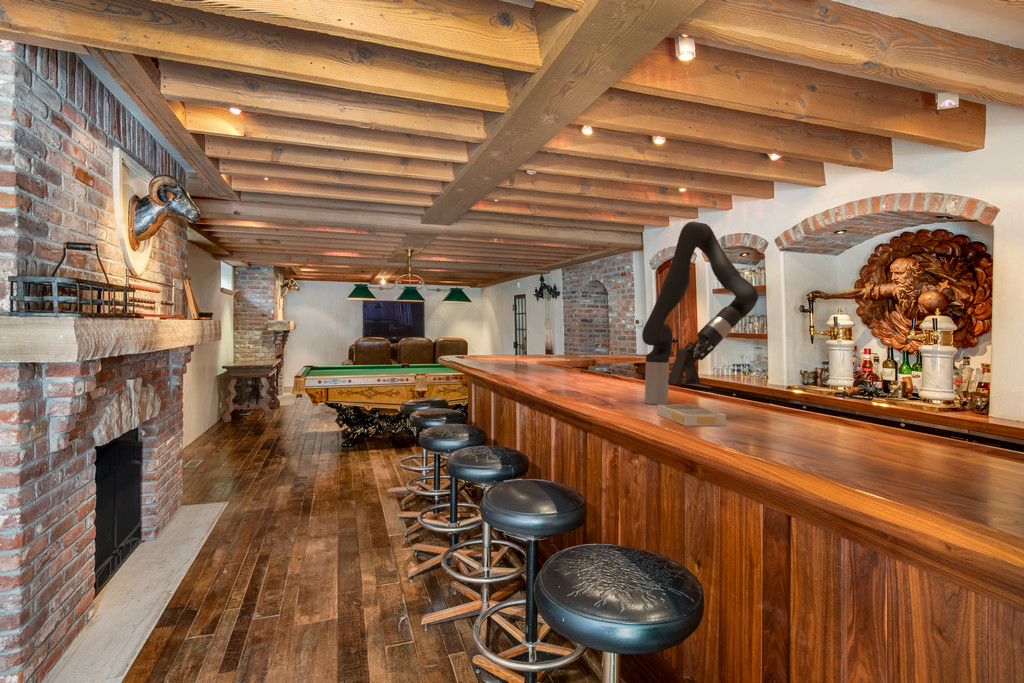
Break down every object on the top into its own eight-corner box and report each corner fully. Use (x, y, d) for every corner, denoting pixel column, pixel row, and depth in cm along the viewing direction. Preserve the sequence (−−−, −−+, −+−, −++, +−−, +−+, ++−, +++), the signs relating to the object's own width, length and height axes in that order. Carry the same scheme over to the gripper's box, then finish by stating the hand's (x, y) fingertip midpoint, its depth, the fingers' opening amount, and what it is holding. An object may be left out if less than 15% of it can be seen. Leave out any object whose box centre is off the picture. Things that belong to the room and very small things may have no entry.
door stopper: (691, 382, 173) (691, 348, 172) (700, 384, 167) (701, 349, 167) (667, 382, 171) (668, 348, 171) (676, 384, 165) (677, 349, 165)
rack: (656, 414, 174) (656, 404, 174) (692, 414, 176) (692, 404, 176) (685, 426, 153) (685, 415, 153) (726, 426, 155) (726, 415, 155)
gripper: (696, 324, 177) (665, 356, 175) (718, 324, 162) (684, 359, 161) (710, 339, 178) (678, 371, 176) (733, 340, 163) (699, 375, 162)
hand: (681, 365), depth 169 cm, fingers closed on door stopper, 6 cm apart
